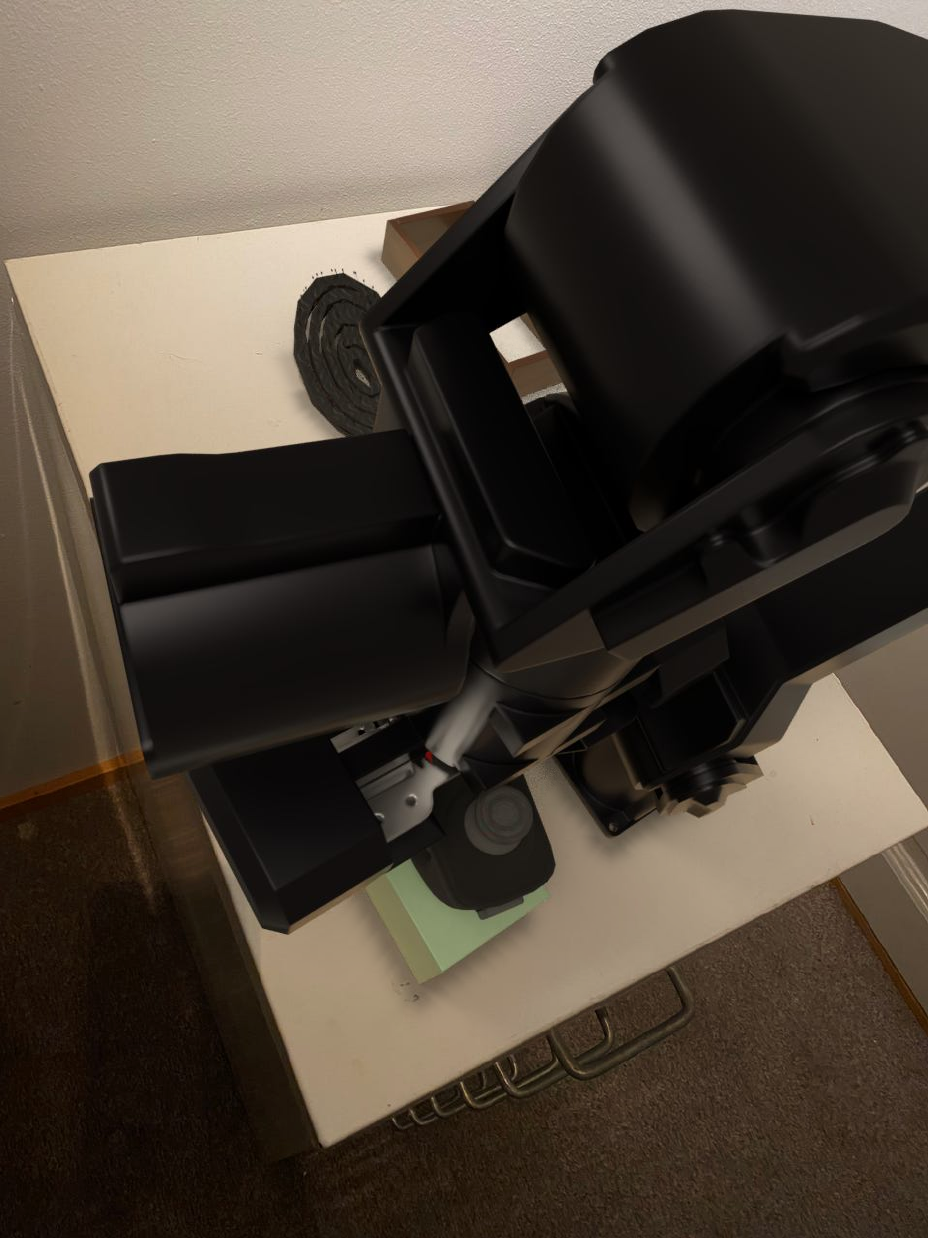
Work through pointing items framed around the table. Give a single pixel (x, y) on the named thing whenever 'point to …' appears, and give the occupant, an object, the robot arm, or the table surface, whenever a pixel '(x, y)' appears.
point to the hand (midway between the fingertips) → (435, 777)
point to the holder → (414, 239)
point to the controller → (485, 846)
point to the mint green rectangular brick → (436, 921)
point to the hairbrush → (335, 375)
